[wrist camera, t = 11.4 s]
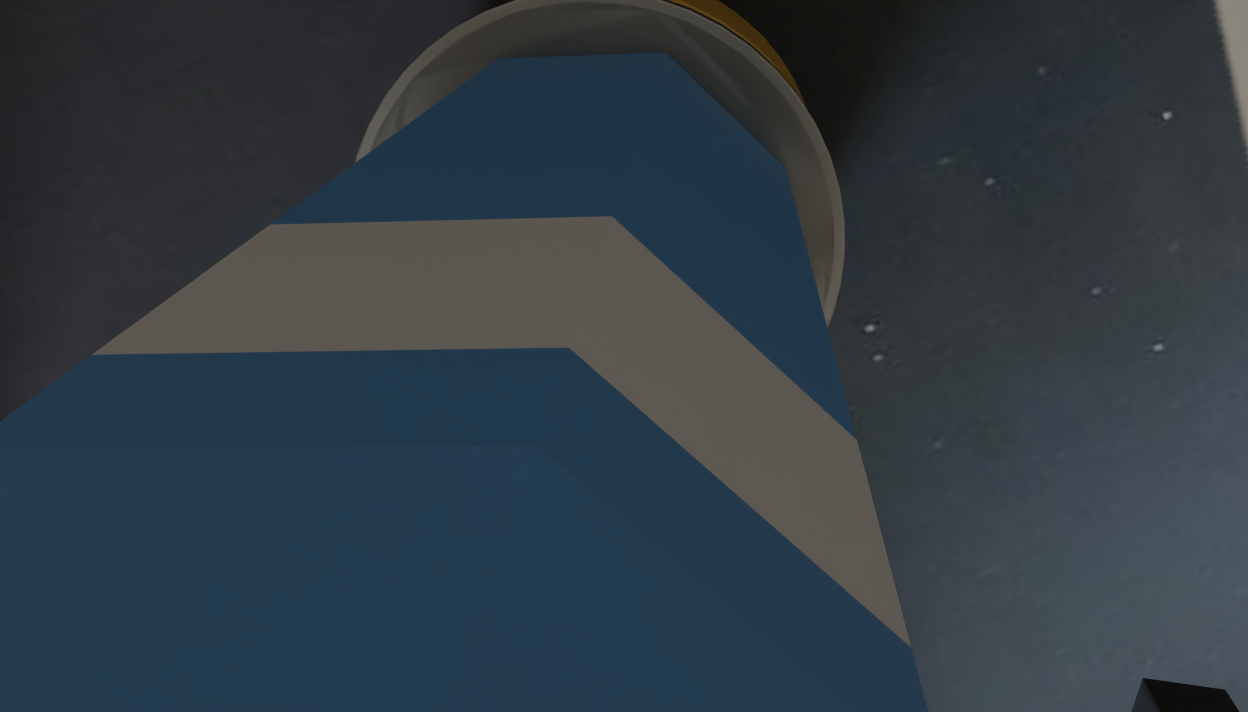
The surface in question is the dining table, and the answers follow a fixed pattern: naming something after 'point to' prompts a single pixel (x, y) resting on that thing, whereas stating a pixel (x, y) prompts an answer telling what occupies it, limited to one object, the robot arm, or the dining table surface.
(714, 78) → the tin
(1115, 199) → the dining table surface
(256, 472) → the water bottle
